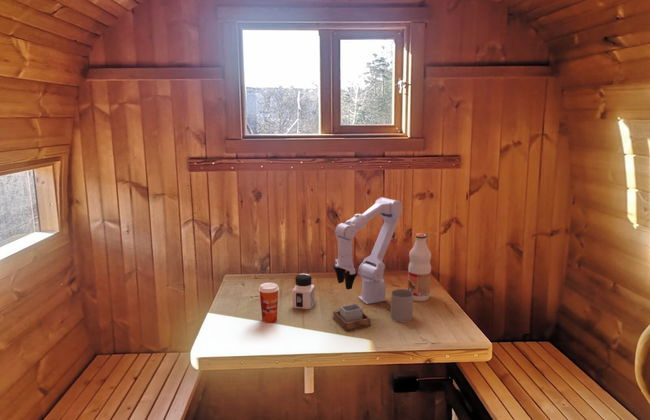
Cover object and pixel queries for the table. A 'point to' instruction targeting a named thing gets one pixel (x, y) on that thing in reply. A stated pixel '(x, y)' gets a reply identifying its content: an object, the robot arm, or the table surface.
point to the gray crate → (351, 312)
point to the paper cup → (269, 301)
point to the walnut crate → (351, 325)
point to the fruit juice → (419, 269)
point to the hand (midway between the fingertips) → (344, 285)
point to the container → (303, 292)
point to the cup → (401, 305)
